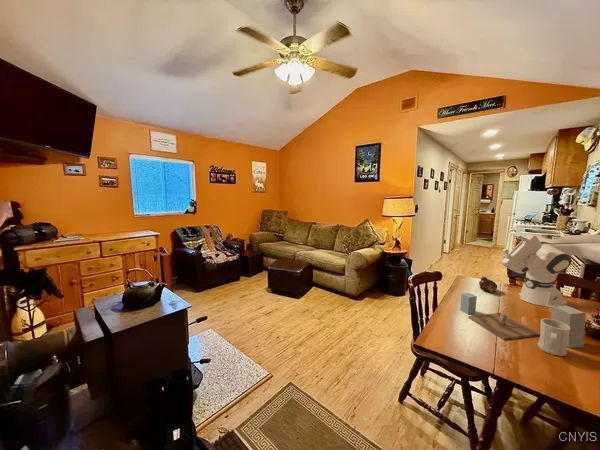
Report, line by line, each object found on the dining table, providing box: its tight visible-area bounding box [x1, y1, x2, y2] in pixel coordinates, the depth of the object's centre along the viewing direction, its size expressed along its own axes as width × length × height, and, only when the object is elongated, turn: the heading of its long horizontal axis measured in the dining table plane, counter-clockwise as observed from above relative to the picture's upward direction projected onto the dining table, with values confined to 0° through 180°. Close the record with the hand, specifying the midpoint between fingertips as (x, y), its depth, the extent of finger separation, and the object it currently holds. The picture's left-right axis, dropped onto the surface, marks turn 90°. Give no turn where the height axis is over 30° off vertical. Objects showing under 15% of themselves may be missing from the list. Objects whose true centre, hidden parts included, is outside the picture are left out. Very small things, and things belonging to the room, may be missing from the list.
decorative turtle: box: [478, 276, 498, 294], centre depth 166 cm, size 10×15×8 cm, turn 174°
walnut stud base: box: [467, 312, 540, 341], centre depth 124 cm, size 20×20×7 cm
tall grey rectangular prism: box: [459, 292, 478, 315], centre depth 139 cm, size 5×5×10 cm
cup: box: [537, 318, 571, 357], centre depth 105 cm, size 10×9×12 cm
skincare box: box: [551, 304, 586, 349], centre depth 110 cm, size 8×7×16 cm
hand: (511, 242), depth 126 cm, fingers open, 8 cm apart
